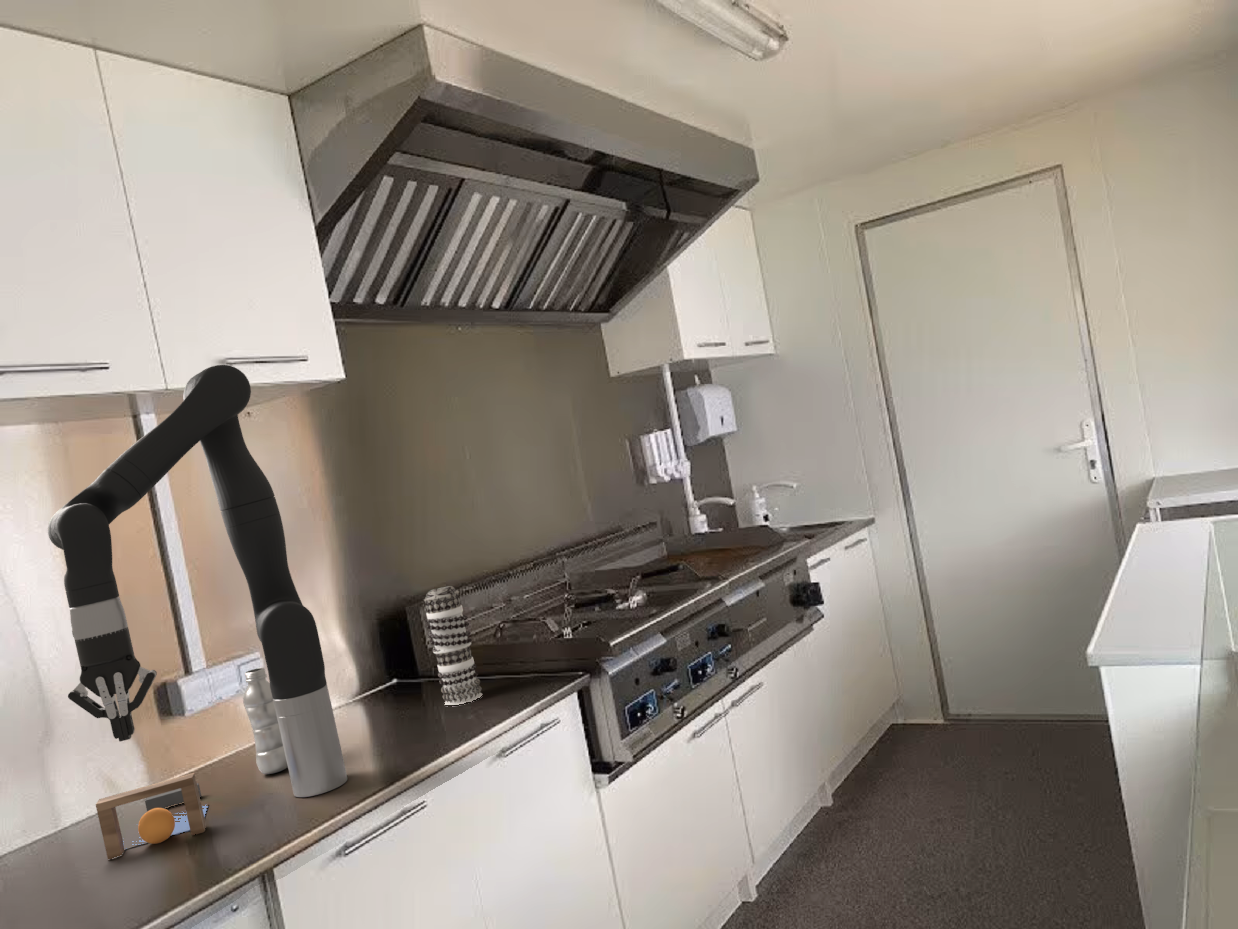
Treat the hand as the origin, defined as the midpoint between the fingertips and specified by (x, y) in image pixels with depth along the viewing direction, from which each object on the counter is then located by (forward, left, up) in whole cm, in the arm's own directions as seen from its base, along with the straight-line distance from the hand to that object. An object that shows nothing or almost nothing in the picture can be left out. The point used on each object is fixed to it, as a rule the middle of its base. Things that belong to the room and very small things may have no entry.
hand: (125, 739), depth 155 cm
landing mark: (-15, 0, -19) cm, 24 cm away
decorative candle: (-48, +57, -19) cm, 77 cm away
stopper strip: (-28, 0, -19) cm, 34 cm away
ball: (-7, 0, -16) cm, 18 cm away
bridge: (-7, 0, -19) cm, 20 cm away
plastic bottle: (-32, +18, -19) cm, 41 cm away
